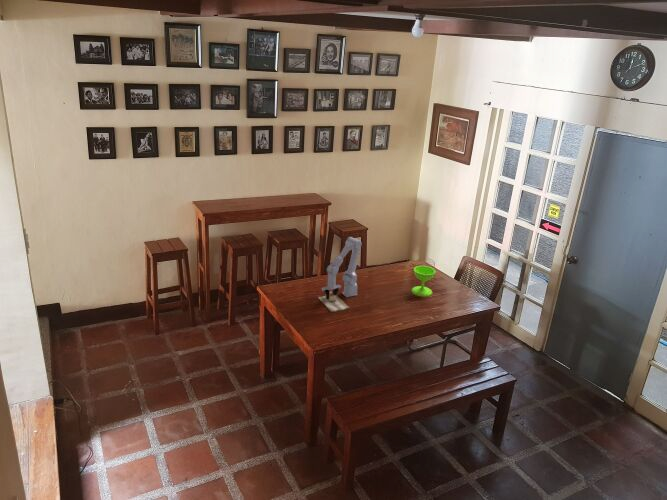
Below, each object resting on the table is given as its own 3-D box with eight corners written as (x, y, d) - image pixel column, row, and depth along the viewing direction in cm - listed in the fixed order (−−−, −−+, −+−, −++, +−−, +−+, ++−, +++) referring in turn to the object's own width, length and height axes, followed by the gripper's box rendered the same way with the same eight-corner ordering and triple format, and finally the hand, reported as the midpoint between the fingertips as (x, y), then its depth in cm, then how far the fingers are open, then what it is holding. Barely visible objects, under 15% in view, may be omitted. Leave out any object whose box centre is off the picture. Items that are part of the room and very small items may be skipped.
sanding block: (325, 297, 384) (325, 292, 382) (330, 296, 386) (331, 291, 384) (330, 302, 377) (330, 297, 376) (335, 301, 379) (336, 296, 378)
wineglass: (436, 295, 399) (439, 273, 392) (418, 297, 393) (420, 275, 386) (425, 285, 412) (428, 264, 405) (407, 288, 407) (410, 267, 400)
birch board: (335, 295, 390) (335, 293, 389) (349, 308, 372) (349, 307, 371) (318, 298, 384) (318, 297, 384) (331, 312, 366) (331, 310, 365)
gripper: (338, 277, 382) (337, 294, 387) (320, 280, 376) (319, 297, 381) (342, 281, 376) (341, 298, 381) (324, 284, 370) (323, 301, 375)
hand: (330, 298), depth 381 cm, fingers closed on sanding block, 4 cm apart
